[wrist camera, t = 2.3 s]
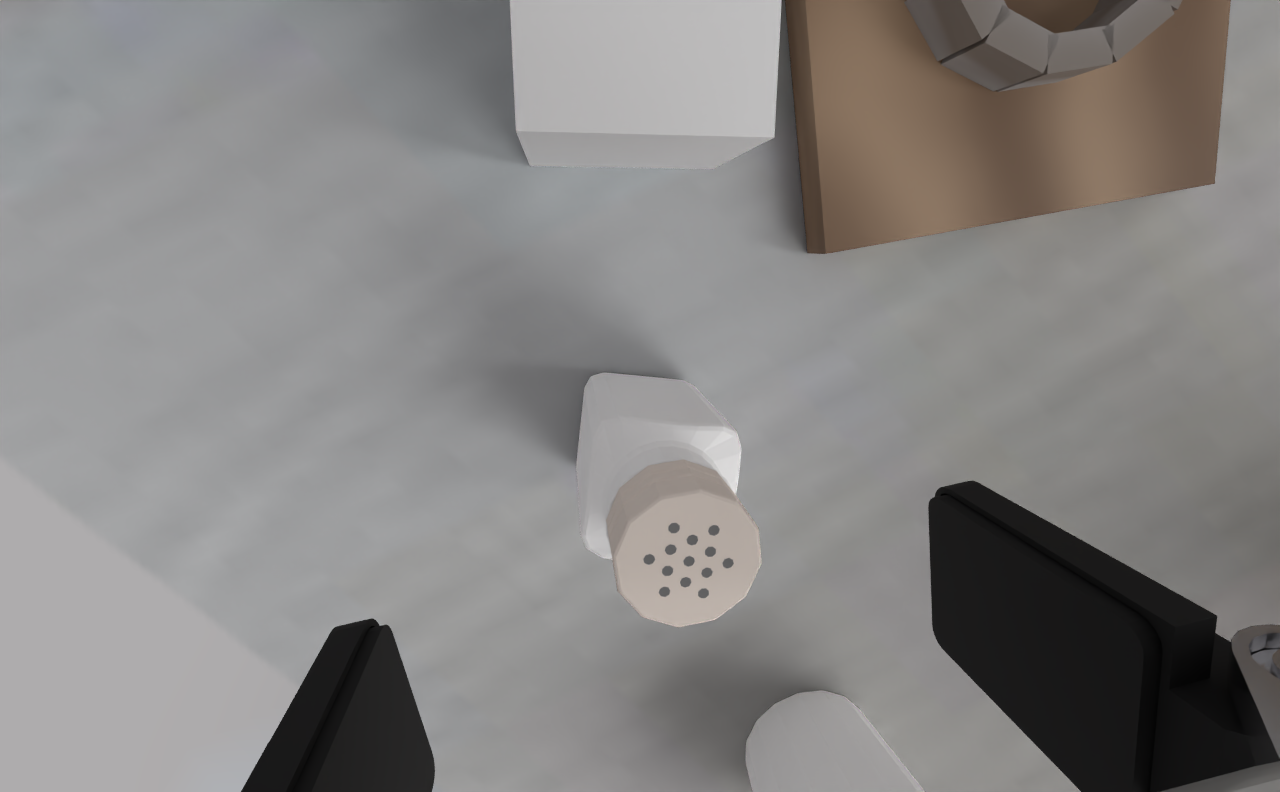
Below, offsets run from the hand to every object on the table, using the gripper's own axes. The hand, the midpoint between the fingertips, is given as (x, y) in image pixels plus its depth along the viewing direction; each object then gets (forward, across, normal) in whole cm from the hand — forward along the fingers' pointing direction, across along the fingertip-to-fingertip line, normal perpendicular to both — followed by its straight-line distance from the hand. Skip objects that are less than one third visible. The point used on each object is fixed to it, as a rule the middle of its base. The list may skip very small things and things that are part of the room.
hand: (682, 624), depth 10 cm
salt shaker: (+12, -1, 0) cm, 12 cm away
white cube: (+12, -2, -11) cm, 17 cm away
